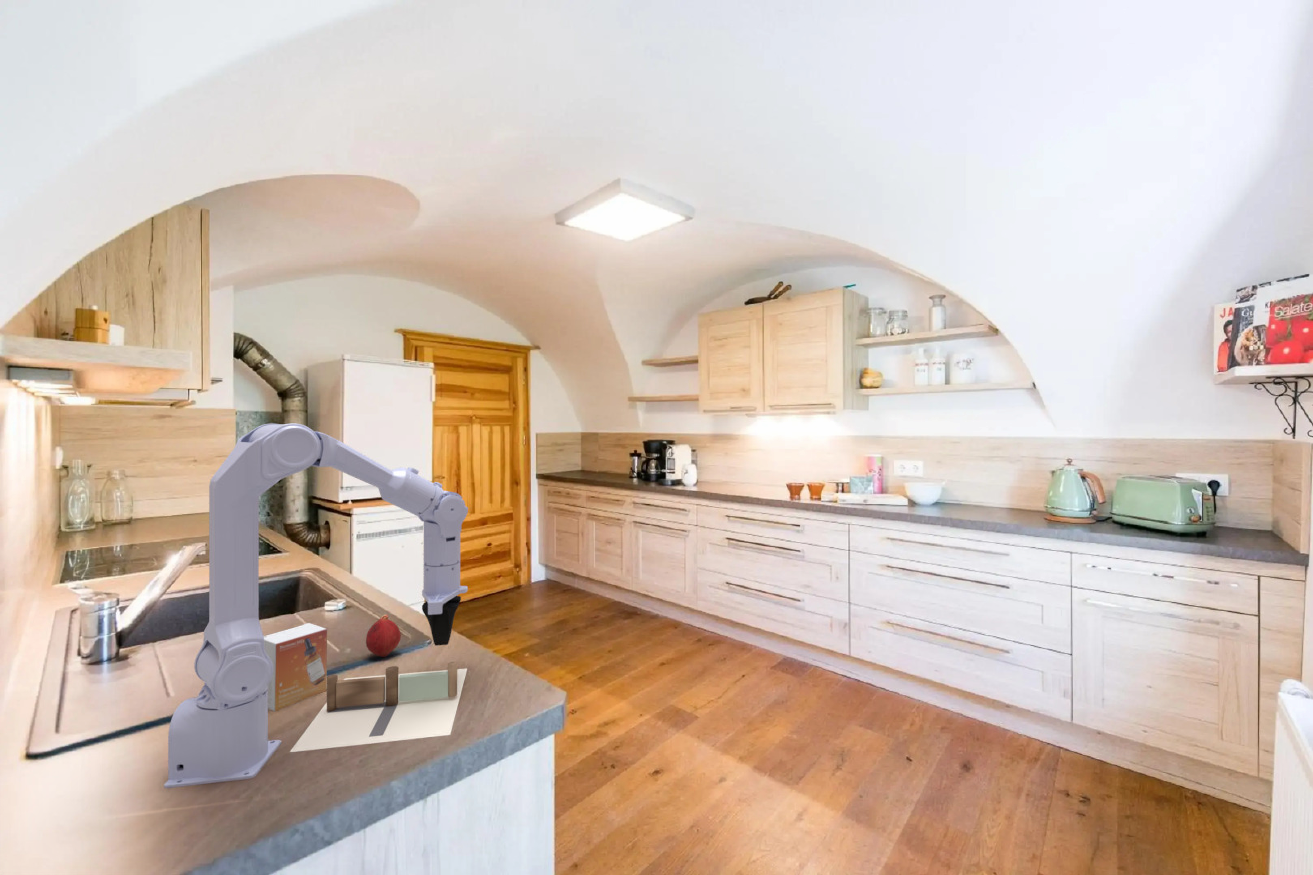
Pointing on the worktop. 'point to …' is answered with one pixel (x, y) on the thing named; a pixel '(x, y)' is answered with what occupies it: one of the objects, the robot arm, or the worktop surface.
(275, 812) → the worktop surface
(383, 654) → the onion
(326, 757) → the worktop surface
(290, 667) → the small box
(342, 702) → the fixed fence
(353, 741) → the card
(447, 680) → the panel
